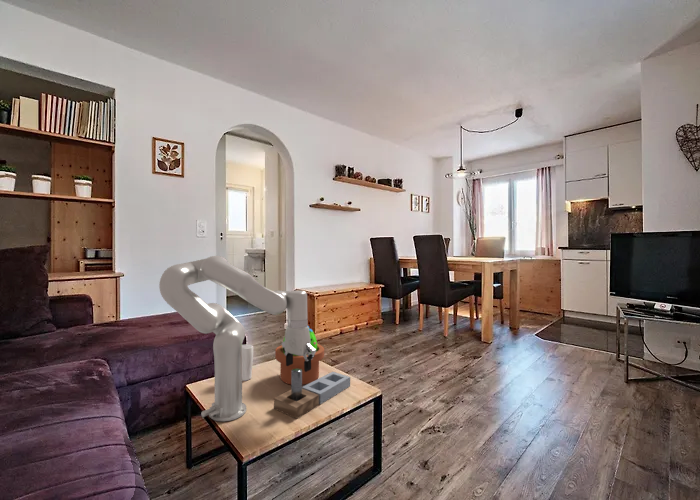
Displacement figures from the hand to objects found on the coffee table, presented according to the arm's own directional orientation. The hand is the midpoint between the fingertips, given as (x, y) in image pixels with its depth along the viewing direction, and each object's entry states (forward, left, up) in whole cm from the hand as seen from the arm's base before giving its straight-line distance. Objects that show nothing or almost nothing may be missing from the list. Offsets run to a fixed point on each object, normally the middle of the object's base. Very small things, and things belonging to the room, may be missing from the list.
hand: (298, 367), depth 122 cm
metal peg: (0, 0, -15) cm, 15 cm away
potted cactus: (+20, +18, -15) cm, 31 cm away
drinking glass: (+4, +37, -15) cm, 41 cm away
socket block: (0, 0, -15) cm, 15 cm away
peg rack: (+17, -1, -15) cm, 22 cm away
